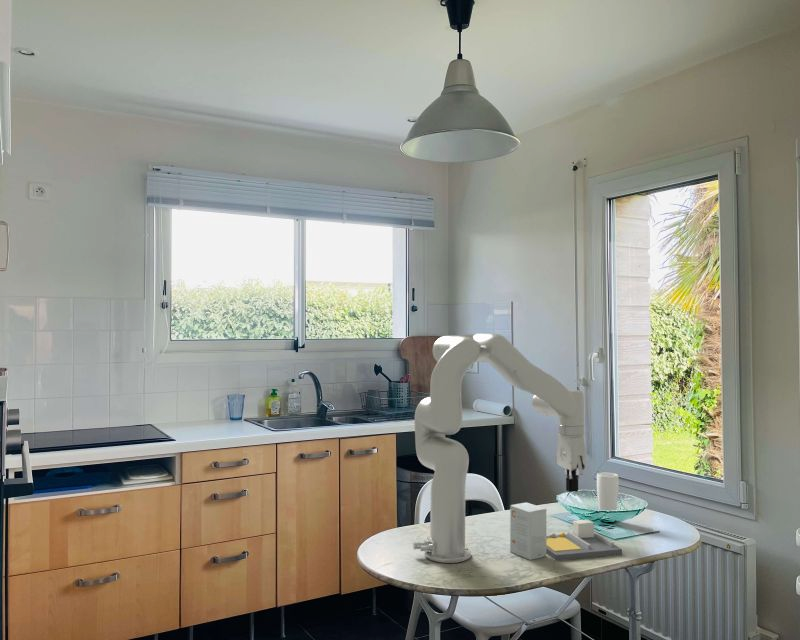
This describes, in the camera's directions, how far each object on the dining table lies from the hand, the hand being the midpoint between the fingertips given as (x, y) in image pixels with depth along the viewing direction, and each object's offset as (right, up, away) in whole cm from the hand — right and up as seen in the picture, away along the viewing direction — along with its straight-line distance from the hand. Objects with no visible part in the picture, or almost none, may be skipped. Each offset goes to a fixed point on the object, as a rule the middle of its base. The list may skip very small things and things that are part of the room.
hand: (572, 490), depth 200 cm
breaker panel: (-2, -13, -13) cm, 19 cm away
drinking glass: (+15, -13, +13) cm, 24 cm away
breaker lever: (+1, -11, -8) cm, 14 cm away
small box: (-17, -13, -18) cm, 28 cm away
